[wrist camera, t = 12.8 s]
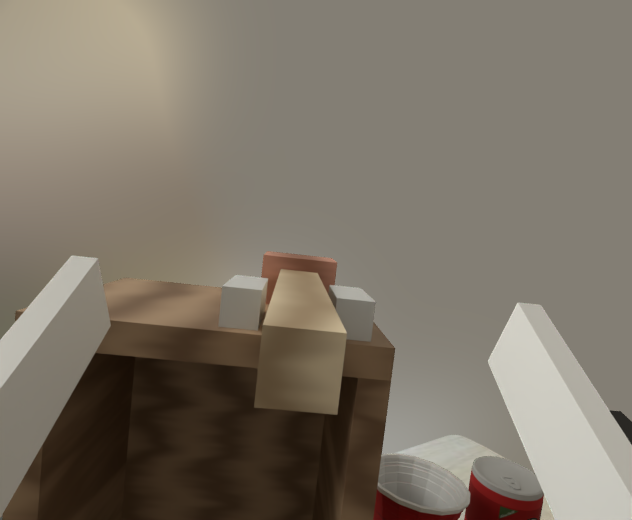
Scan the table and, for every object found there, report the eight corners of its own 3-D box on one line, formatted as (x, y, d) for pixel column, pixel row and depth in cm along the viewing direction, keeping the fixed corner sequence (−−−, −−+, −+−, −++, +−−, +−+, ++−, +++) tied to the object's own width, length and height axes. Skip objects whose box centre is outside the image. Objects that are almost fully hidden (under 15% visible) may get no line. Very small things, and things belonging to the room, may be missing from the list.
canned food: (492, 597, 46) (507, 499, 45) (445, 543, 53) (457, 457, 52) (546, 584, 48) (562, 491, 48) (495, 534, 56) (507, 453, 55)
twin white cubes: (218, 326, 26) (222, 286, 26) (232, 308, 32) (235, 274, 32) (370, 341, 27) (375, 302, 27) (356, 320, 33) (360, 288, 33)
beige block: (211, 403, 15) (222, 292, 15) (263, 293, 40) (267, 251, 40) (378, 418, 16) (391, 310, 15) (326, 300, 41) (331, 258, 40)
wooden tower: (-15, 786, 27) (15, 310, 25) (101, 577, 43) (125, 277, 40) (336, 800, 28) (395, 348, 26) (321, 592, 44) (356, 301, 42)
